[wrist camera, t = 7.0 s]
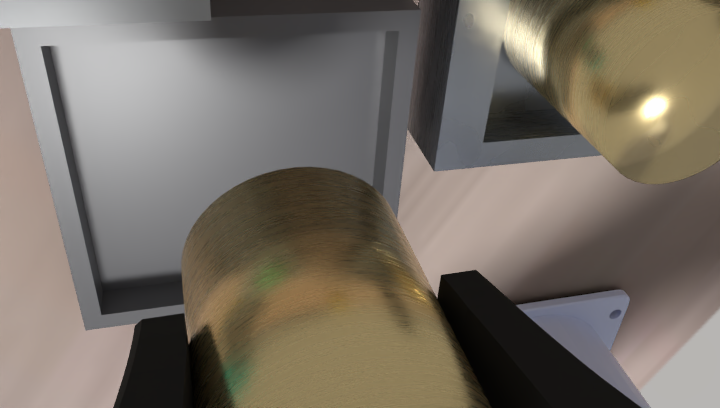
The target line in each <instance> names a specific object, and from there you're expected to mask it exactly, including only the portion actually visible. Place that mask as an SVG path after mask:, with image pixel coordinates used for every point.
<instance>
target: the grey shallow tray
mask: <svg viewBox="0 0 720 408" xmlns="http://www.w3.org/2000/svg"><path fill="white" fill-rule="evenodd" d="M509 4H510V0H419V6H418V7H419V8H420V9H421V15H420V23H419V32H418V41H417V49H416V58H415V67H414V75H413V84H412V93H411V101H410V110H409V119H408V127H407V129H408V130H409V132H410V134H411V135H412V137H413V138H414V140H415V141H416V143H417V145H418V146H419V148H420V149H421V151H422V153H423V154H424V156H425V157H426V159H427V161H428V162H429V164H430V165H431V167H432V169H433V170H434V171H443V170H453V169H464V168H474V167H485V166H495V165H505V164H516V163H526V162H536V161H547V160H557V159H568V158H578V157H588V156H599V155H601V154H600V153H599V152H598V151H597V150H596V149H595V148H594V147H593V146H592V145H591V144H590V143H589V142H588V141H587V140H586V139H585V138H584V137H583V136H582V135H581V134H580V133H579V132H578V131H577V130H576V129H575V128H574V127H573V126H572V125H571V124H570V123H569V122H568V121H567V120H566V119H565V118H564V117H563V116H562V115H561V114H560V113H559V112H558V111H557V110H556V109H555V108H554V107H553V106H552V105H551V104H550V103H549V102H548V101H547V100H546V99H545V98H544V97H543V96H542V95H541V94H540V93H539V92H538V91H537V90H536V89H535V88H534V87H533V86H532V85H531V84H530V83H529V82H528V81H527V80H526V79H525V78H524V77H523V76H522V75H521V74H520V73H519V72H518V71H517V70H516V69H515V68H514V67H513V65H512V64H511V63H510V61H509V58H508V56H507V54H506V51H505V47H504V40H503V35H504V30H505V25H506V19H507V14H508V9H509Z"/></svg>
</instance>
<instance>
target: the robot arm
mask: <svg viewBox="0 0 720 408" xmlns="http://www.w3.org/2000/svg"><path fill="white" fill-rule="evenodd" d="M437 300H438V302H439V304H440V306H441V308H442V310H443V312H444V314H445V316H446V318H447V320H448V322H449V324H450V326H451V328H452V330H453V332H454V334H455V336H456V338H457V340H458V342H459V344H460V346H461V348H462V350H463V352H464V354H465V356H466V358H467V360H468V362H469V363H470V365H471V367H472V369H473V371H474V373H475V375H476V377H477V379H478V381H479V383H480V385H481V387H482V389H483V391H484V393H485V395H486V397H487V399H488V401H489V403H490V405H491V407H492V408H651V407H650V406H649V404H648V403H647V402H646V400H645V399H644V397H643V396H642V395H641V393H640V392H639V391H638V389H637V388H636V386H635V385H634V384H633V382H632V381H631V379H630V378H629V377H628V375H627V374H626V373H625V371H624V370H623V368H622V367H621V366H620V364H619V363H618V361H617V360H616V359H615V357H614V356H613V355H612V353H611V352H610V350H611V347H612V345H613V342H614V340H615V337H616V335H617V332H618V330H619V327H620V325H621V322H622V320H623V317H624V315H625V312H626V310H627V307H628V305H629V302H630V298H629V296H628V295H627V294H626V293H625V291H623V290H612V291H605V292H599V293H592V294H585V295H579V296H572V297H566V298H559V299H552V300H546V301H539V302H532V303H526V304H519V305H515V304H514V303H513V302H512V301H510V300H509V299H508V298H507V297H506V296H505V295H504V294H503V293H501V292H500V291H499V290H498V289H497V288H496V287H495V286H494V285H492V284H491V283H490V282H489V281H488V280H487V279H486V278H485V277H483V276H482V275H481V274H480V273H479V272H478V271H476V270H472V271H465V272H459V273H452V274H445V275H441V279H440V286H439V292H438V298H437ZM113 408H194V405H193V388H192V376H191V364H190V353H189V342H188V335H187V328H186V322H185V315H184V313H181V314H174V315H167V316H160V317H154V318H147V319H142V320H141V321H140V322H139V323H138V324H136V325H135V329H134V335H133V341H132V345H131V350H130V354H129V358H128V362H127V366H126V369H125V373H124V376H123V379H122V382H121V386H120V389H119V392H118V395H117V398H116V401H115V404H114V407H113Z"/></svg>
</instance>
